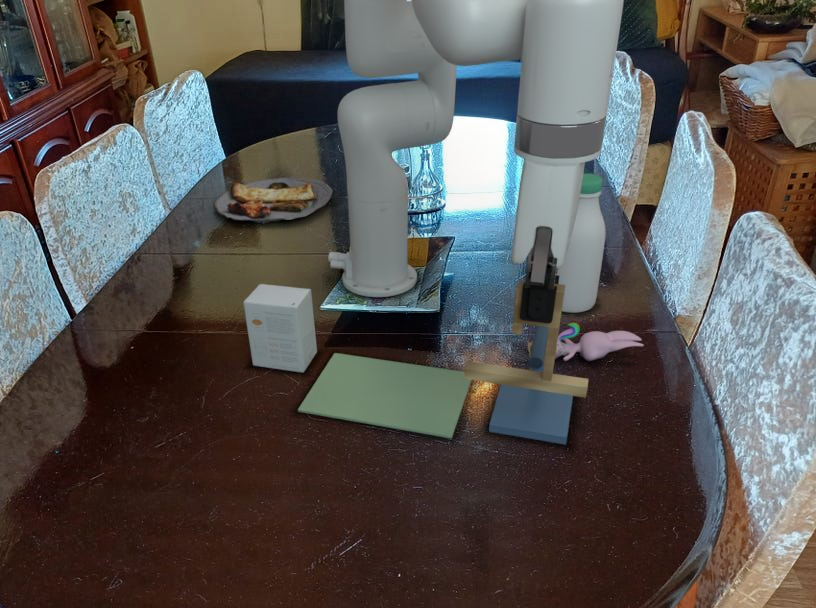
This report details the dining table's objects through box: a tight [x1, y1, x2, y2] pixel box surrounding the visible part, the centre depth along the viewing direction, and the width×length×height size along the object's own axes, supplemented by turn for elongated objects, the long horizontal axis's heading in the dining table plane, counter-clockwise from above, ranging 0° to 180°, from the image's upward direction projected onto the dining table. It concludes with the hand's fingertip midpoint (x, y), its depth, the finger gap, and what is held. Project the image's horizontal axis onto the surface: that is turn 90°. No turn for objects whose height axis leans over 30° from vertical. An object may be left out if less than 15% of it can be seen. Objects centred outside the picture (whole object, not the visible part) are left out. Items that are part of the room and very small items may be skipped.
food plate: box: [212, 176, 333, 225], centre depth 154 cm, size 25×23×4 cm
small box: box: [243, 283, 318, 373], centre depth 101 cm, size 8×6×10 cm
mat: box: [297, 352, 473, 439], centre depth 96 cm, size 20×14×1 cm
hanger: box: [463, 279, 589, 398], centre depth 76 cm, size 13×2×12 cm, turn 70°
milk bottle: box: [556, 173, 606, 314], centre depth 108 cm, size 8×8×20 cm
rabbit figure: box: [526, 322, 645, 362], centre depth 99 cm, size 6×6×15 cm
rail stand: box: [488, 325, 574, 446], centre depth 88 cm, size 9×11×11 cm
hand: (537, 313), depth 74 cm, fingers closed on hanger, 1 cm apart
